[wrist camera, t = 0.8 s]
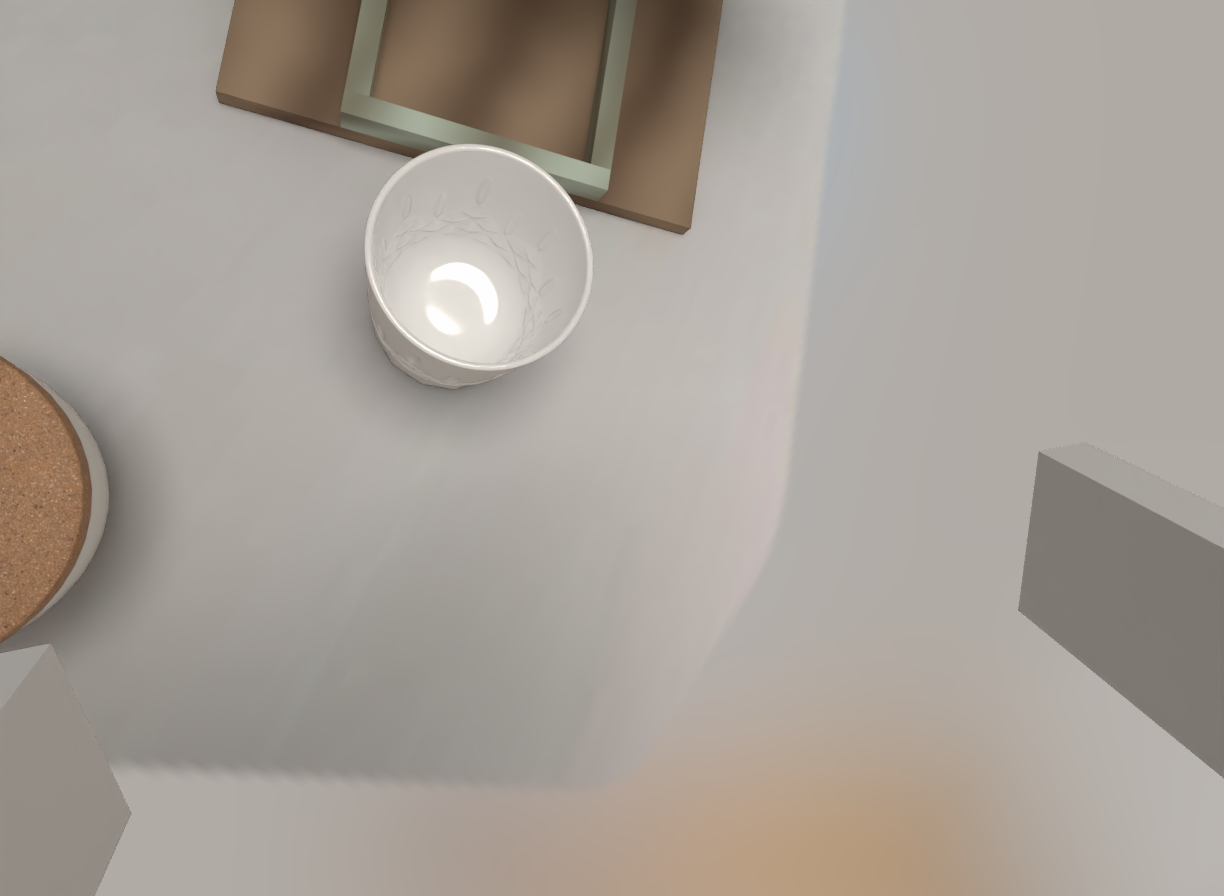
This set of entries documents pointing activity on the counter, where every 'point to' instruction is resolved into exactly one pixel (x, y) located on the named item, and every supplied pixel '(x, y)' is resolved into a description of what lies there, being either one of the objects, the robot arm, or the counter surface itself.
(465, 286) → the white cup
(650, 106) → the shelf unit
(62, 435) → the lidded jar
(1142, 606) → the robot arm
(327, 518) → the counter surface
